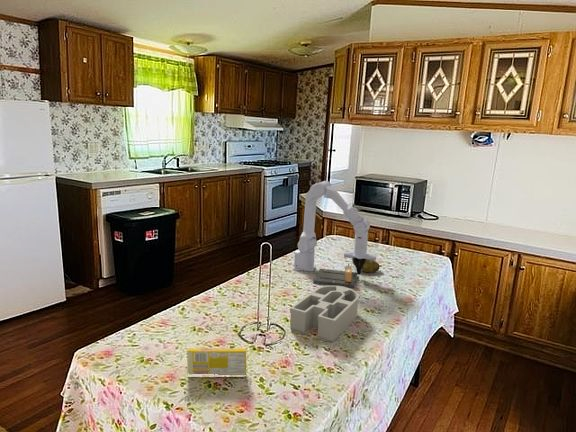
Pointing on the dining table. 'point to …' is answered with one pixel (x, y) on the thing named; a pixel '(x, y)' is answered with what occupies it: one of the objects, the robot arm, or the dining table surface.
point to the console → (334, 278)
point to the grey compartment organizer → (325, 312)
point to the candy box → (217, 361)
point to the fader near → (348, 275)
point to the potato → (369, 266)
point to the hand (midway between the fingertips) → (358, 273)
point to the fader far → (347, 267)
